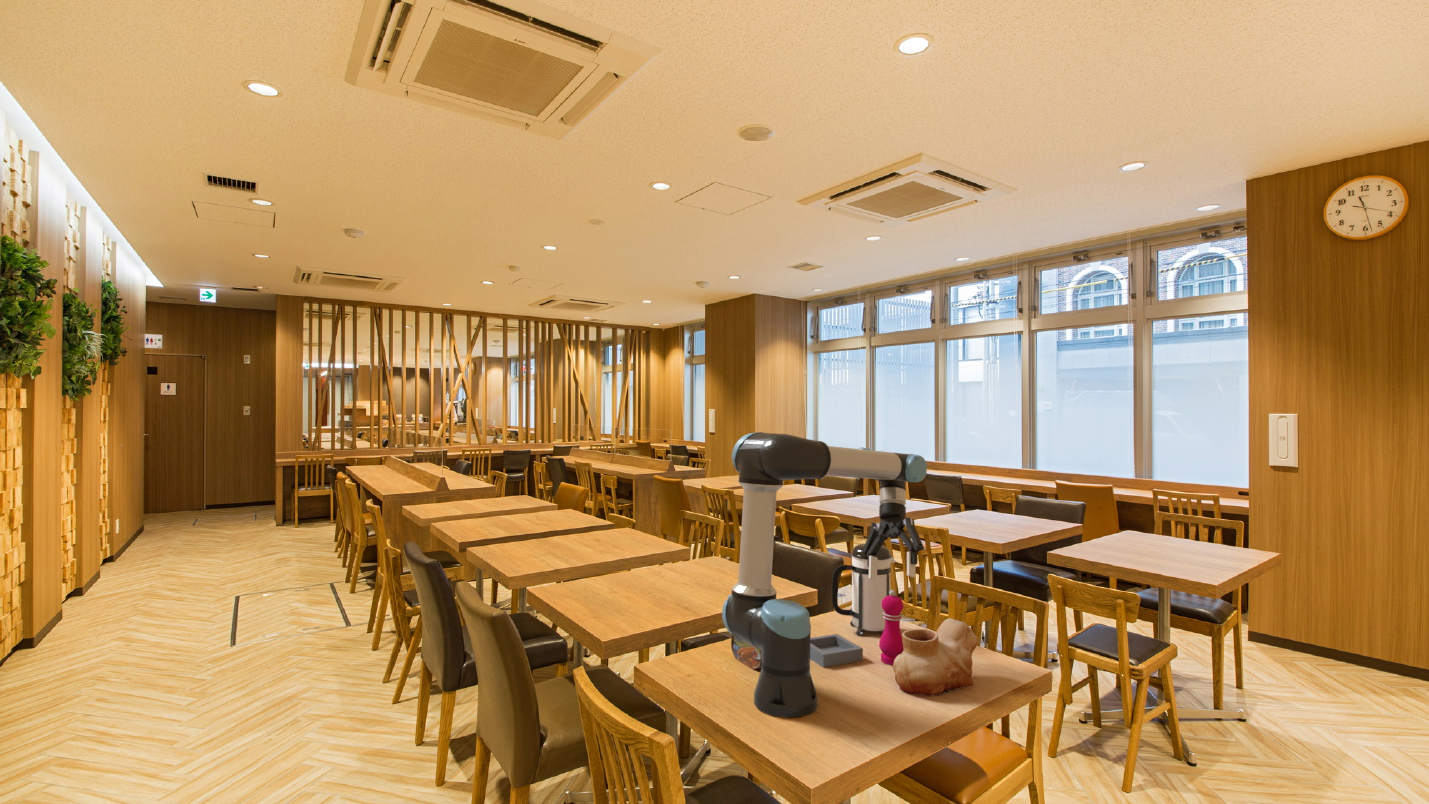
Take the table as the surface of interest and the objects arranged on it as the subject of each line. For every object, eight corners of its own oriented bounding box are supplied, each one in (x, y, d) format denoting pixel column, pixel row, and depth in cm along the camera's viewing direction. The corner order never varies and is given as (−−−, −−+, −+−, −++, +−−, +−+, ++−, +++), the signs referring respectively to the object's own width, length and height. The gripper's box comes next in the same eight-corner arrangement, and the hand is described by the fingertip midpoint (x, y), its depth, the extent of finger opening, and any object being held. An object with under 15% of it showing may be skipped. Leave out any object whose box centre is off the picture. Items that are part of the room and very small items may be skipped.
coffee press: (863, 619, 222) (863, 530, 222) (904, 631, 210) (904, 537, 210) (830, 630, 211) (830, 536, 211) (871, 643, 198) (871, 544, 199)
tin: (730, 655, 188) (730, 626, 188) (739, 653, 190) (739, 624, 190) (759, 674, 175) (760, 642, 175) (769, 671, 177) (769, 640, 177)
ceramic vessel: (993, 682, 171) (993, 624, 171) (921, 703, 158) (921, 641, 158) (950, 664, 183) (950, 610, 183) (880, 682, 170) (880, 624, 170)
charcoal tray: (823, 667, 180) (823, 654, 180) (799, 651, 192) (799, 639, 192) (862, 660, 185) (862, 648, 185) (836, 645, 197) (836, 633, 197)
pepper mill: (903, 657, 188) (903, 587, 188) (907, 666, 181) (908, 594, 181) (877, 656, 188) (877, 586, 189) (881, 665, 181) (881, 593, 182)
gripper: (936, 502, 185) (937, 578, 177) (868, 513, 204) (866, 582, 196) (919, 495, 181) (919, 572, 173) (852, 507, 201) (849, 577, 192)
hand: (891, 578), depth 184 cm, fingers open, 13 cm apart
